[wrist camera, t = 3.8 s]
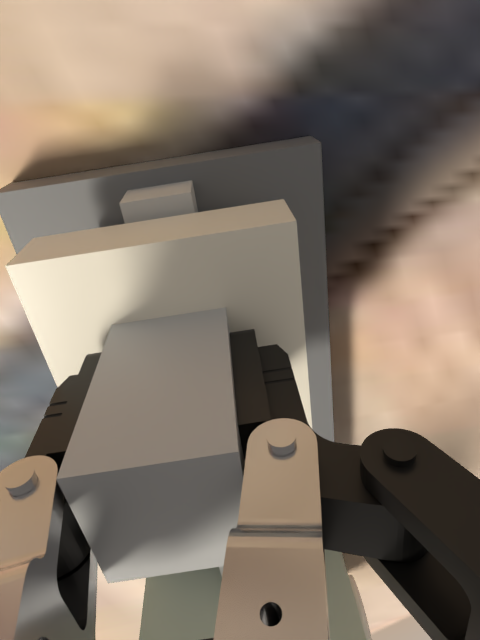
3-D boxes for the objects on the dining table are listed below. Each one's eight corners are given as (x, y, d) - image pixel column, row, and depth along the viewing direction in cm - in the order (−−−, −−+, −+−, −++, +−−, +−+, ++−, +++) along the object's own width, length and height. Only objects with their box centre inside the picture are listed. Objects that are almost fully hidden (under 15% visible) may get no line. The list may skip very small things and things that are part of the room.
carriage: (276, 186, 14) (360, 327, 6) (293, 370, 17) (361, 601, 10) (49, 221, 14) (-132, 403, 6) (113, 398, 17) (44, 648, 10)
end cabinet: (338, 515, 24) (392, 694, 17) (341, 578, 27) (387, 752, 20) (150, 543, 24) (128, 732, 18) (173, 603, 27) (162, 785, 20)
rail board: (310, 136, 15) (333, 150, 12) (331, 510, 24) (346, 564, 22) (10, 182, 15) (-32, 208, 12) (147, 537, 24) (141, 594, 22)
